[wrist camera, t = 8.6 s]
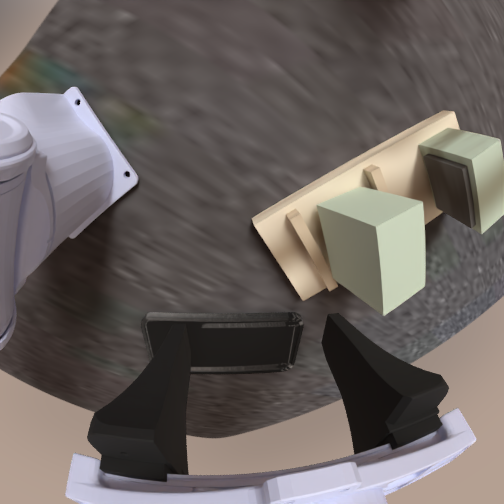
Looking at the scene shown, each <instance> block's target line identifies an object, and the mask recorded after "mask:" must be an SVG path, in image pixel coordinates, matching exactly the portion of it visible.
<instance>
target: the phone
mask: <svg viewBox="0 0 504 504" xmlns="http://www.w3.org/2000/svg"><path fill="white" fill-rule="evenodd" d="M173 324H186V328H187V333H188V339H189V344H190V349H191V372H190V374H250V373H270V372H283V371H287V370H289V369H291V368H292V367H293V365H294V363H295V359H296V355H297V351H298V347H299V343H300V339H301V335H302V330H303V321H302V318H301V316H300V315H299V314H297V313H293V312H288V313H249V314H198V313H160V312H150V313H147V314H145V315H144V317H143V319H142V322H141V328H142V332H143V337H144V341H145V345H146V349H147V353H148V357H149V360H150V361H151V360H152V359H153V357H154V356H155V354H156V353H157V351H158V350H159V348H160V346H161V345H162V343H163V341H164V340H165V338H166V336H167V334H168V332H169V331H170V329H171V327H172V325H173Z"/></svg>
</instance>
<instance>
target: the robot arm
mask: <svg viewBox="0 0 504 504" xmlns="http://www.w3.org/2000/svg"><path fill="white" fill-rule="evenodd" d="M79 99H80V101H81V102H80V104H79V105H77V101H78V100H79ZM126 171H128V172H130V177H127V176H126V175H125V172H126ZM138 180H139V179H138V176H137V174H136V173H135V171H134V170H133V168H132V167H131V166H130V164H129V163H128V161H127V160H126V159H125V157H124V156H123V154H122V153H121V151H120V150H119V149H118V147H117V146H116V144H115V143H114V141H113V140H112V138H111V137H110V136H109V134H108V133H107V131H106V130H105V128H104V127H103V125H102V124H101V122H100V121H99V119H98V118H97V116H96V115H95V113H94V112H93V110H92V109H91V107H90V106H89V104H88V103H87V101H86V100H85V98H84V97H83V95H82V93H81V92H80V90H79V89H78V88H77V87H71V88H70V89H68V90H67V91H66V92H65V93H64V94H49V93H16V94H13V95H10V96H8V97H5V98H3V99H1V100H0V350H1V349H2V348H3V347H4V346H5V345H6V344H7V342H8V341H9V339H10V338H11V336H12V333H13V331H14V328H15V324H16V316H17V312H16V304H15V298H14V295H15V294H16V293H17V292H18V291H19V290H20V288H21V287H22V286H23V285H24V284H25V283H26V278H27V276H28V275H30V274H31V273H32V272H33V271H34V270H35V269H36V268H37V267H38V266H39V265H40V264H41V263H42V262H43V261H44V260H45V259H46V258H47V257H48V256H49V255H50V254H51V253H52V252H53V251H54V250H55V249H56V248H57V247H58V246H59V245H60V244H61V243H62V242H63V241H64V240H65V239H66V238H67V237H70V238H72V239H74V238H75V237H76V236H77V235H78V234H80V233H81V232H82V231H83V230H84V229H85V228H86V227H87V226H88V225H89V224H90V223H91V222H92V221H94V220H95V219H96V218H97V217H98V216H99V215H100V214H101V213H103V212H104V211H105V210H106V209H107V208H108V207H109V206H111V205H112V204H113V203H114V202H115V201H117V200H118V199H119V198H120V197H121V196H123V195H124V194H125V193H126V192H127V191H129V190H130V189H131V188H132V187H134V186H135V185H136V184H137V183H138ZM322 346H323V350H324V354H325V357H326V360H327V362H328V365H329V367H330V370H331V372H332V374H333V376H334V379H335V381H336V383H337V386H338V388H339V390H340V393H341V396H342V399H343V402H344V406H345V410H346V414H347V418H348V422H349V426H350V431H351V436H352V442H353V448H354V455H351V456H348V457H344V458H340V459H336V460H332V461H328V462H323V463H319V464H314V465H309V466H304V467H298V468H292V469H286V470H279V471H271V472H262V473H252V474H239V475H238V474H237V475H189V474H188V462H187V448H186V447H187V445H186V404H187V396H188V388H189V380H190V372H191V349H190V344H189V339H188V333H187V328H186V324H173V325H172V327H171V329H170V331H169V332H168V334H167V336H166V338H165V340H164V341H163V343H162V345H161V346H160V348H159V350H158V351H157V353H156V354H155V356H154V357H153V359H152V360H151V361H150V363H149V364H148V366H147V367H146V368H145V369H144V371H143V372H142V373H141V374H140V375H139V377H138V378H137V379H136V380H135V381H134V382H133V383H132V384H131V385H130V386H129V387H128V388H127V389H126V390H125V391H124V392H123V393H121V394H120V395H119V396H118V397H117V398H116V399H114V400H113V401H112V402H111V403H109V404H108V405H106V406H105V407H103V408H102V409H100V410H99V411H97V412H95V413H94V416H93V418H92V421H91V424H90V428H89V432H88V436H87V438H88V441H89V442H90V444H91V445H92V446H93V447H94V448H95V449H96V450H97V451H98V452H99V453H100V454H101V455H102V457H101V461H100V460H99V459H96V458H93V457H89V456H85V455H81V454H77V453H74V454H73V458H72V462H71V467H70V472H69V477H68V482H67V488H66V494H65V495H66V497H68V498H70V499H71V500H73V501H75V502H77V503H79V504H387V501H386V498H385V495H388V494H390V493H392V492H394V491H396V490H399V489H401V488H403V487H405V486H407V485H409V484H411V483H413V482H415V481H417V480H419V479H421V478H423V477H424V476H426V475H428V474H430V473H432V472H433V471H435V470H437V469H439V468H441V467H442V466H444V465H446V464H447V463H449V462H451V461H452V460H454V459H455V458H456V457H457V456H459V455H460V454H461V453H462V452H464V451H465V450H466V449H467V448H468V447H469V446H471V445H472V444H473V443H474V442H475V441H476V438H475V436H474V434H473V432H472V430H471V429H470V427H469V425H468V424H467V422H466V420H465V418H464V417H463V415H462V414H461V412H460V410H459V409H458V408H456V409H454V410H452V411H450V412H448V413H446V414H445V415H443V416H442V417H440V418H439V417H438V415H437V414H438V413H439V410H438V408H437V406H438V405H439V404H440V402H441V401H442V400H443V399H444V397H445V396H446V394H447V392H448V389H449V387H448V385H447V383H446V382H445V380H444V379H443V378H442V376H441V375H439V374H435V373H432V372H429V371H425V370H422V369H420V368H417V367H415V366H412V365H410V364H408V363H406V362H404V361H402V360H400V359H398V358H396V357H394V356H393V355H391V354H390V353H388V352H386V351H385V350H383V349H382V348H380V347H379V346H377V345H376V344H375V343H373V342H372V341H371V340H369V339H368V338H367V337H366V336H364V335H363V334H362V333H361V332H360V331H358V330H357V329H356V328H355V327H354V326H353V325H352V324H350V323H349V322H348V321H347V320H346V319H345V318H344V317H342V316H341V315H340V314H339V313H336V314H328V316H327V321H326V325H325V330H324V334H323V338H322Z"/></svg>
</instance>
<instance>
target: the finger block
mask: <svg viewBox="0 0 504 504" xmlns="http://www.w3.org/2000/svg"><path fill="white" fill-rule="evenodd" d="M316 206H317V210H318V214H319V218H320V222H321V226H322V231H323V235H324V239H325V244H326V248H327V253H328V257H329V262H330V267H331V272H332V277H333V279H334V280H336V281H337V282H339V283H340V284H341V285H343V286H344V287H345V288H347V289H348V290H349V291H351V292H352V293H353V294H355V295H356V296H357V297H359V298H360V299H361V300H363V301H364V302H365V303H367V304H368V305H369V306H371V307H372V308H373V309H375V310H376V311H377V312H379V313H380V314H381V315H383V316H385V315H386V314H387V313H389V312H390V311H392V310H393V309H395V308H396V307H397V306H399V305H400V304H402V303H403V302H404V301H406V300H407V299H409V298H410V297H411V296H413V295H414V294H415V293H417V292H418V291H419V290H421V289H422V288H423V287H424V286H425V225H424V210H423V202H422V201H418V200H414V199H410V198H407V197H403V196H399V195H395V194H391V193H386V192H382V191H378V190H374V189H369V188H365V187H358V188H356V189H353V190H351V191H348V192H346V193H344V194H341V195H339V196H336V197H334V198H332V199H329V200H327V201H324V202H322V203H320V204H317V205H316Z"/></svg>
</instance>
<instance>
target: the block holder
mask: <svg viewBox="0 0 504 504" xmlns="http://www.w3.org/2000/svg"><path fill="white" fill-rule="evenodd" d="M358 187H365V188H369V189H374V190H378V191H382V192H386V193H391V194H395V195H399V196H403V197H407V198H410V199H414V200H418V201H422V202H423V210H424V225H426V224H427V223H428V222H430V221H431V220H433V219H434V218H436V217H437V216H438V215H440V214H441V213H442V212H444V213H446V214H448V215H450V216H451V217H453V218H455V219H456V220H458V221H460V222H461V223H463V224H465V225H466V226H468V227H470V228H472V229H474V230H476V231H477V232H479V233H480V234H483V233H484V232H485V231H486V230H487V229H488V228H489V227H490V226H492V225H493V224H494V223H495V222H496V221H497V220H498V219H499V218H500V217H501V216H502V215H503V214H504V160H503V153H502V147H501V142H500V139H497V138H493V137H489V136H485V135H481V134H477V133H472V132H468V131H463V130H459V126H458V123H457V119H456V116H455V113H454V112H452V111H441V112H439V113H437V114H436V115H434V116H432V117H430V118H428V119H426V120H424V121H422V122H420V123H418V124H416V125H415V126H413V127H411V128H409V129H407V130H405V131H403V132H401V133H400V134H398V135H396V136H394V137H392V138H390V139H388V140H387V141H385V142H383V143H381V144H379V145H377V146H376V147H374V148H372V149H370V150H368V151H367V152H365V153H363V154H361V155H359V156H358V157H356V158H354V159H352V160H350V161H349V162H347V163H345V164H343V165H342V166H340V167H338V168H336V169H335V170H333V171H331V172H329V173H328V174H326V175H324V176H322V177H321V178H319V179H317V180H315V181H314V182H312V183H310V184H308V185H307V186H305V187H303V188H302V189H300V190H298V191H297V192H295V193H293V194H291V195H290V196H288V197H286V198H285V199H283V200H281V201H280V202H278V203H276V204H275V205H273V206H271V207H269V208H268V209H266V210H264V211H263V212H261V213H260V214H258V215H256V216H255V217H253V218H252V221H253V224H254V226H255V228H256V229H257V231H258V232H259V234H260V235H261V237H262V238H263V240H264V241H265V243H266V245H267V246H268V248H269V249H270V251H271V252H272V254H273V255H274V257H275V258H276V260H277V261H278V263H279V264H280V266H281V268H282V269H283V271H284V272H285V274H286V275H287V277H288V278H289V280H290V282H291V283H292V285H293V286H294V288H295V289H296V291H297V292H298V294H299V296H300V297H301V299H302V300H303V301H304V300H306V299H308V298H309V297H311V296H313V295H315V294H316V293H318V292H320V291H322V290H323V289H325V288H328V290H329V291H331V290H333V289H335V288H336V287H338V285H337V283H336V282H337V281H336V280H334V279H333V277H332V272H331V267H330V262H329V257H328V253H327V248H326V244H325V239H324V235H323V231H322V226H321V222H320V218H319V214H318V210H317V206H316V205H317V204H320V203H322V202H324V201H327V200H329V199H332V198H334V197H336V196H339V195H341V194H344V193H346V192H348V191H351V190H353V189H356V188H358Z"/></svg>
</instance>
